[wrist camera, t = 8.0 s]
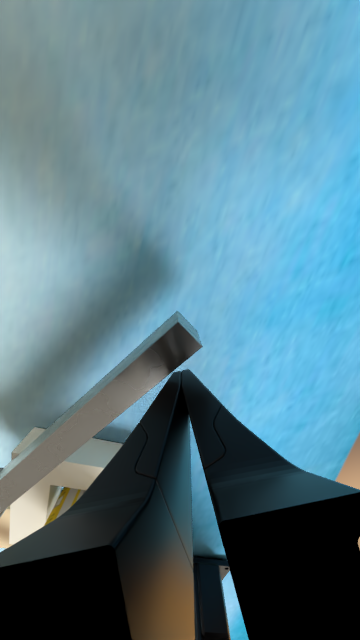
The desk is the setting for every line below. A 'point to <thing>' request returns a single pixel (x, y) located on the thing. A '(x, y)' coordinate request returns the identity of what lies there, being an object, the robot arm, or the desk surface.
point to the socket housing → (56, 483)
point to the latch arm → (100, 406)
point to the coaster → (5, 529)
